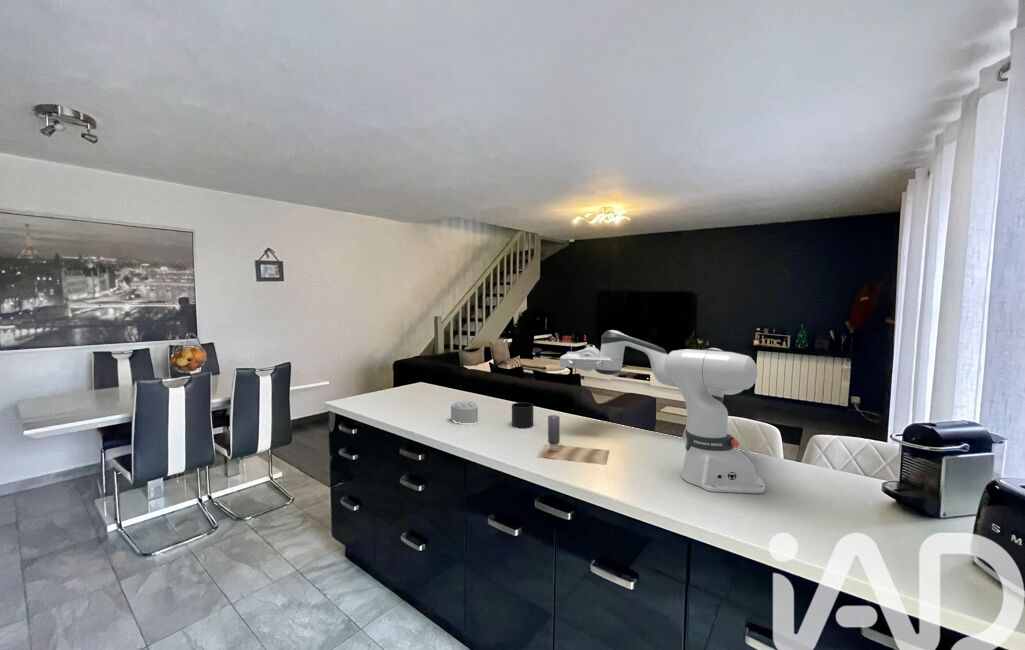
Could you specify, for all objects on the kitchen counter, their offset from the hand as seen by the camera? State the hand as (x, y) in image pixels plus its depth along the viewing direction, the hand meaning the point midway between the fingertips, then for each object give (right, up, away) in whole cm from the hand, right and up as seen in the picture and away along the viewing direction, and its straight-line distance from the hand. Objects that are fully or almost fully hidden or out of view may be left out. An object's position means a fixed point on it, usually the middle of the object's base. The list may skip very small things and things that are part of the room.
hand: (583, 364), depth 161 cm
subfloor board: (-6, -31, -14) cm, 34 cm away
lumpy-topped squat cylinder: (-48, -29, +32) cm, 64 cm away
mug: (-22, -29, +26) cm, 44 cm away
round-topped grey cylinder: (-12, -29, -12) cm, 34 cm away
